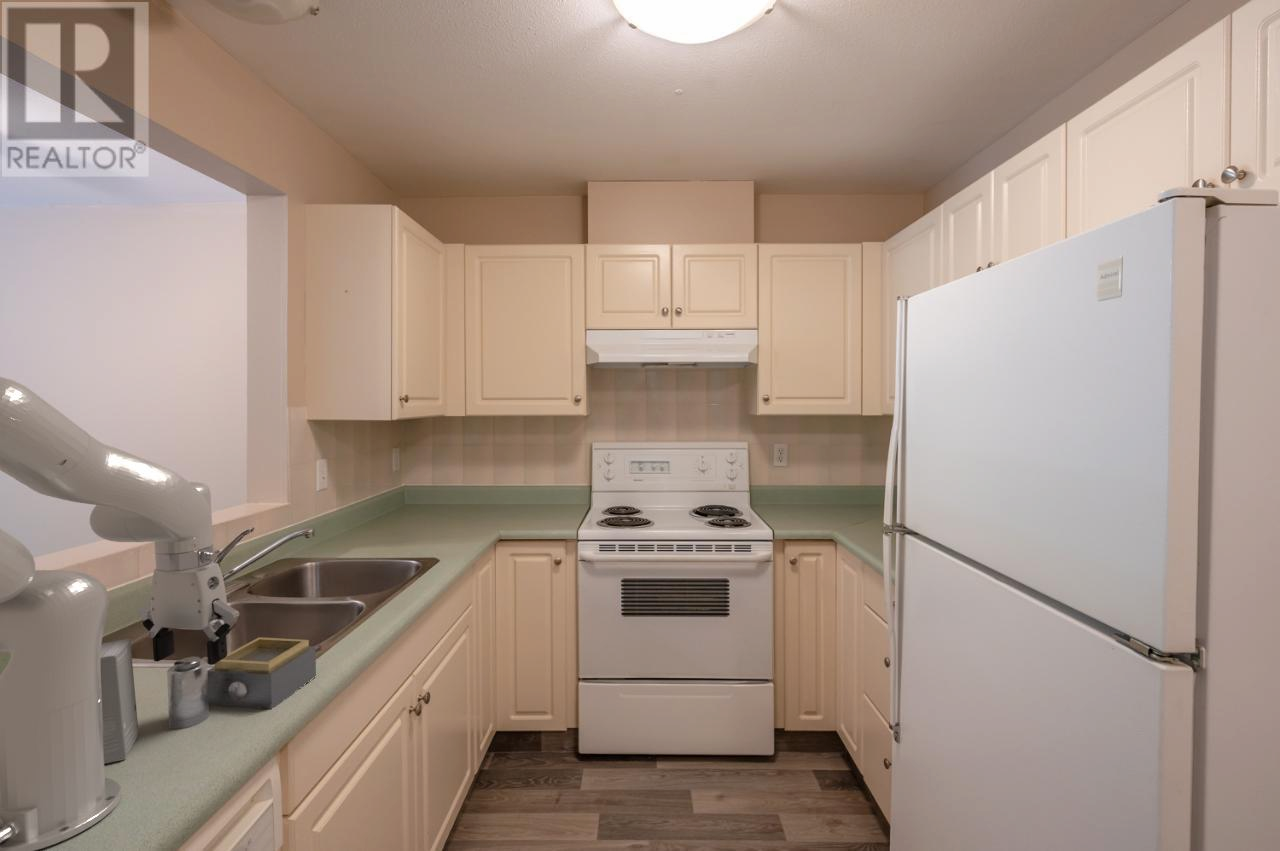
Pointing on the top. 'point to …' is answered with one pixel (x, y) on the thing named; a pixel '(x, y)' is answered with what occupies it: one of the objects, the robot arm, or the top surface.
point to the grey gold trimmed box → (261, 673)
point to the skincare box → (118, 700)
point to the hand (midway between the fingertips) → (190, 659)
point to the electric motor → (188, 692)
